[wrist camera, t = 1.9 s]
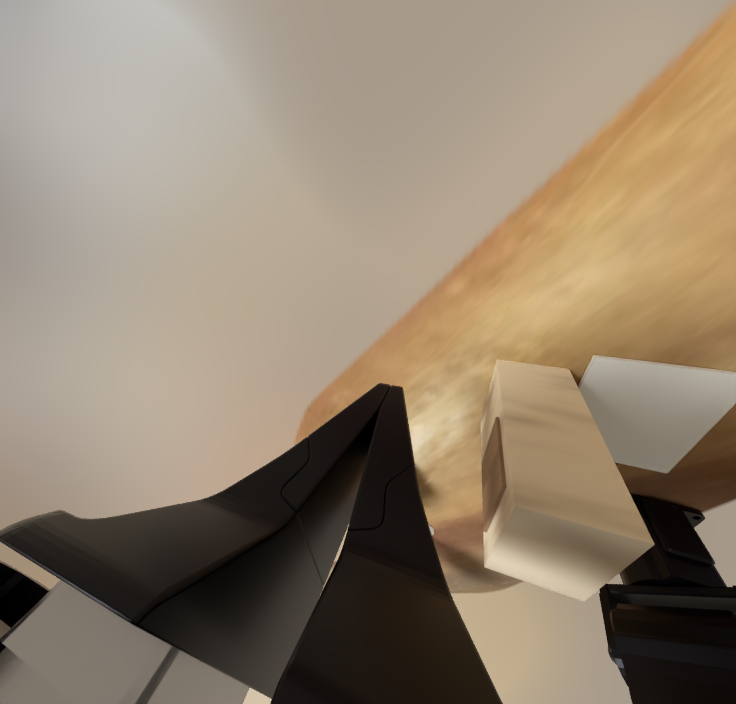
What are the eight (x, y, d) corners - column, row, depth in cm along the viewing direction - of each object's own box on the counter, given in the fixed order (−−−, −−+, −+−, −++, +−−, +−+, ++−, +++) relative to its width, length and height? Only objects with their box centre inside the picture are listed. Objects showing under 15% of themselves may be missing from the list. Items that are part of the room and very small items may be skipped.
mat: (665, 470, 22) (667, 473, 22) (547, 445, 24) (548, 448, 24) (757, 374, 16) (761, 377, 16) (593, 354, 19) (595, 356, 19)
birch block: (540, 431, 24) (583, 601, 14) (478, 419, 25) (480, 566, 16) (569, 369, 20) (654, 544, 11) (494, 359, 21) (510, 504, 12)
